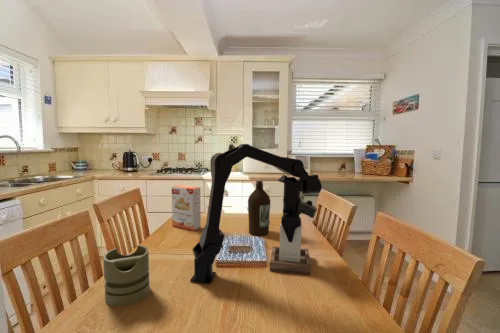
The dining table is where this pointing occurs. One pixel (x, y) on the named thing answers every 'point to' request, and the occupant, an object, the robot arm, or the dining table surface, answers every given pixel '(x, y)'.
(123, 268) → the green divided utensil holder
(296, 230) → the supplement box
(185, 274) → the dining table surface
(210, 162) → the robot arm
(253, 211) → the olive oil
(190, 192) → the cracker box
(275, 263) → the holder tray
